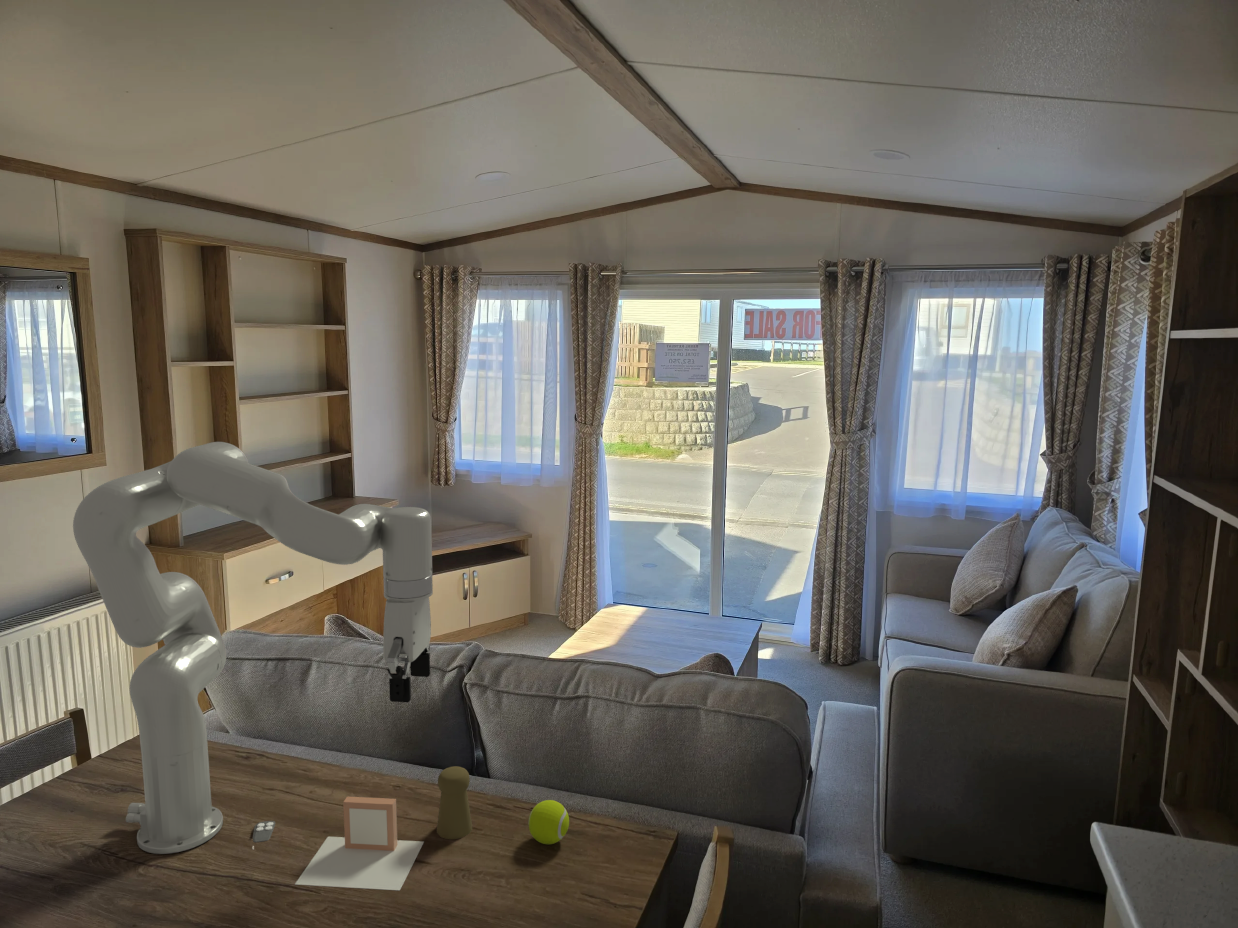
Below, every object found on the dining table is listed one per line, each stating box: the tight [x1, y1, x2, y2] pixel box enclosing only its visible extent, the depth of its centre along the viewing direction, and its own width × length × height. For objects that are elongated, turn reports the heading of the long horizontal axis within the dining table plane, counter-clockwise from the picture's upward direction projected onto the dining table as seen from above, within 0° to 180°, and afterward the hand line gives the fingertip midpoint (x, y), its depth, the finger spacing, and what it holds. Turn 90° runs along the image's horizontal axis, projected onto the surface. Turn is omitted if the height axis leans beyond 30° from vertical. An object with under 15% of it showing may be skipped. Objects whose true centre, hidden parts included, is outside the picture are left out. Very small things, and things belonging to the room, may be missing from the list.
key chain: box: [251, 820, 276, 850], centre depth 134 cm, size 13×4×2 cm, turn 14°
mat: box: [294, 836, 425, 892], centre depth 129 cm, size 16×12×1 cm
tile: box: [342, 796, 398, 851], centre depth 133 cm, size 8×2×8 cm, turn 86°
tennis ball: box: [528, 799, 570, 845], centre depth 136 cm, size 7×7×7 cm
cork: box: [436, 765, 473, 840], centre depth 138 cm, size 6×6×11 cm
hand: (410, 687), depth 134 cm, fingers open, 9 cm apart
